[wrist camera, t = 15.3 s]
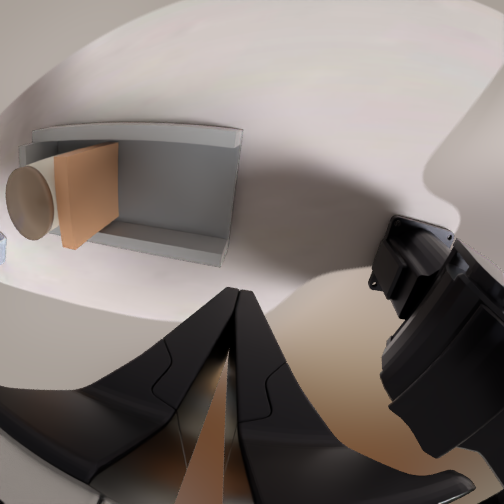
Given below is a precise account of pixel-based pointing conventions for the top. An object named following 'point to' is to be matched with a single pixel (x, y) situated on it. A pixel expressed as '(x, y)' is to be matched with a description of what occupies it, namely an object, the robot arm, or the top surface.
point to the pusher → (86, 191)
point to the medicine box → (2, 248)
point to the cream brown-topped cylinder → (33, 198)
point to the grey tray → (160, 184)
